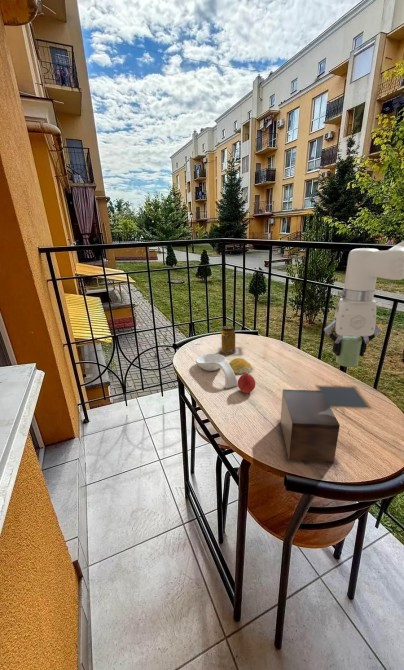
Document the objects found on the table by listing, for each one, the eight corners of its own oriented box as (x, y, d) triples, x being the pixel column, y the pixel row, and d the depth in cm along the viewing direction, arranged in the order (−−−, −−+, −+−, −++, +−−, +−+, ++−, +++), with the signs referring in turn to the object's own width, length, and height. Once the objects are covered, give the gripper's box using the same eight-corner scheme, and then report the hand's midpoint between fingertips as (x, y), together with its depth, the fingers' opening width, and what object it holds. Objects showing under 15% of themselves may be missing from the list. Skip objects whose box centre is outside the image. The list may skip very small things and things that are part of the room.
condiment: (220, 349, 129) (220, 324, 124) (239, 349, 128) (239, 324, 124) (221, 356, 122) (220, 330, 118) (240, 355, 121) (241, 329, 117)
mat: (353, 389, 93) (353, 387, 93) (367, 408, 83) (368, 407, 83) (319, 388, 95) (319, 386, 95) (328, 407, 85) (329, 405, 84)
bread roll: (243, 362, 115) (244, 354, 114) (253, 372, 107) (254, 363, 105) (225, 366, 113) (225, 357, 111) (233, 376, 105) (233, 366, 103)
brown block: (317, 424, 77) (321, 390, 73) (333, 464, 64) (339, 425, 60) (280, 423, 79) (282, 389, 75) (288, 461, 66) (292, 423, 62)
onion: (234, 392, 94) (233, 371, 92) (246, 386, 97) (246, 366, 95) (246, 400, 90) (246, 378, 87) (258, 394, 93) (259, 372, 90)
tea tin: (353, 358, 87) (357, 334, 84) (361, 367, 82) (365, 342, 79) (333, 358, 88) (336, 334, 85) (339, 367, 82) (343, 341, 80)
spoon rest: (191, 364, 115) (190, 348, 113) (217, 359, 119) (216, 343, 117) (217, 392, 95) (217, 373, 92) (247, 384, 99) (247, 366, 96)
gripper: (329, 298, 75) (321, 359, 81) (398, 298, 73) (385, 360, 79) (321, 292, 82) (314, 348, 88) (384, 292, 80) (373, 349, 86)
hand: (348, 353), depth 84 cm, fingers closed on tea tin, 6 cm apart
